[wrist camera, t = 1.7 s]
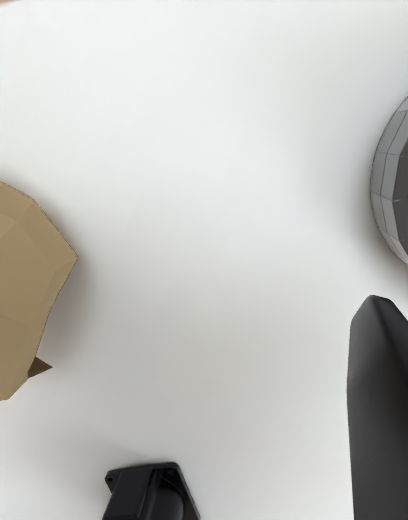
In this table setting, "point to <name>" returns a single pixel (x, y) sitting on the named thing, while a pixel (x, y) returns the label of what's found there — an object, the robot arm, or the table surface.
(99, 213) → the table surface
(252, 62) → the table surface
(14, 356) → the low-poly potato
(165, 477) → the robot arm
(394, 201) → the pan
